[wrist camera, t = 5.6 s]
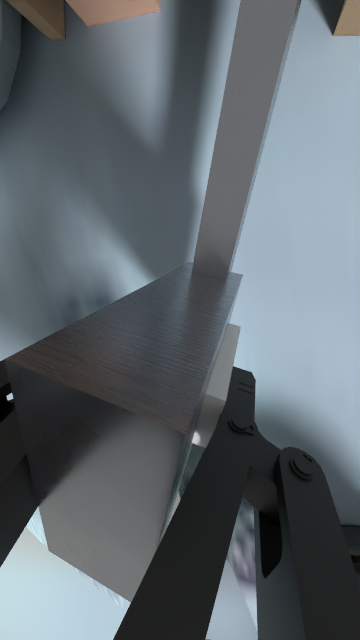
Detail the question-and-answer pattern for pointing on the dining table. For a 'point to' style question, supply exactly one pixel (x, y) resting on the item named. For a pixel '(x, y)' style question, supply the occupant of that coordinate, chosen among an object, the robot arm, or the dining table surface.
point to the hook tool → (147, 352)
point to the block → (111, 9)
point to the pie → (8, 47)
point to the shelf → (48, 16)
